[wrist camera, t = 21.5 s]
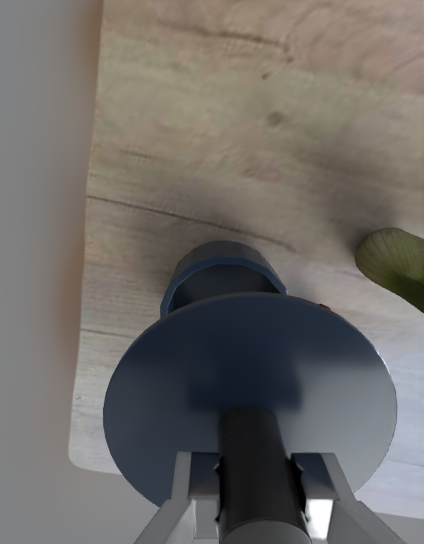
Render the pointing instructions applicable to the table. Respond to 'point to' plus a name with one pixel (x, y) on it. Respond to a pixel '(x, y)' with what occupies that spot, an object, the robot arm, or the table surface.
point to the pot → (219, 275)
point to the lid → (250, 405)
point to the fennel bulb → (394, 263)
